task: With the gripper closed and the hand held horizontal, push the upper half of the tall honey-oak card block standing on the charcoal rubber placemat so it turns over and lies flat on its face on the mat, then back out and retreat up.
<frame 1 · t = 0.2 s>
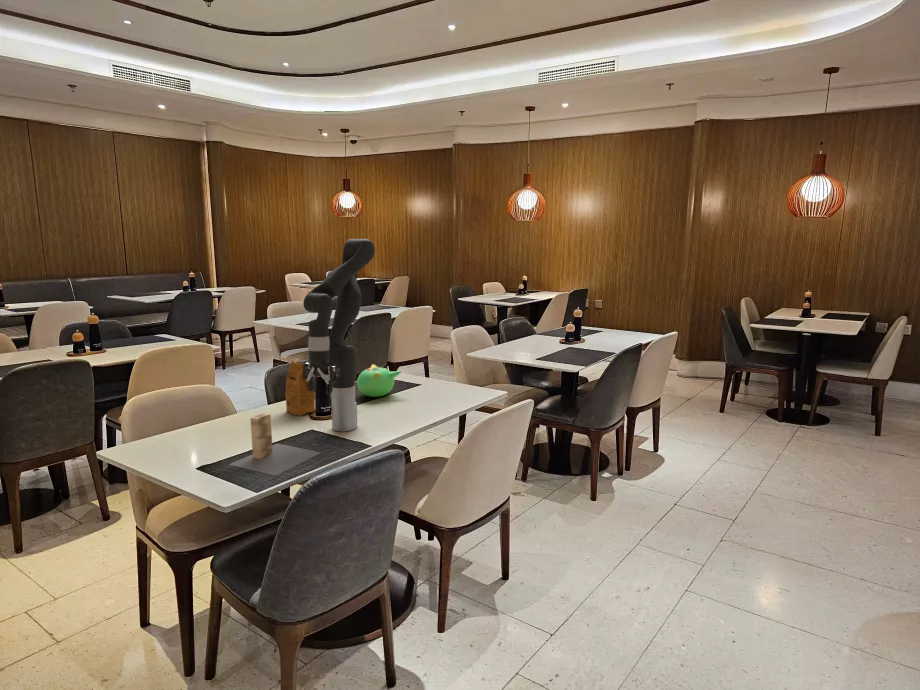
hand: (320, 392, 210), 18 cm above the table, tool pointing down, fingers open, 8 cm apart
toy bird: (377, 396, 272), on the table
coffee package: (300, 412, 247), on the table
charcoal placemat: (276, 459, 193), on the table
oak card block: (262, 455, 196), resting on charcoal placemat
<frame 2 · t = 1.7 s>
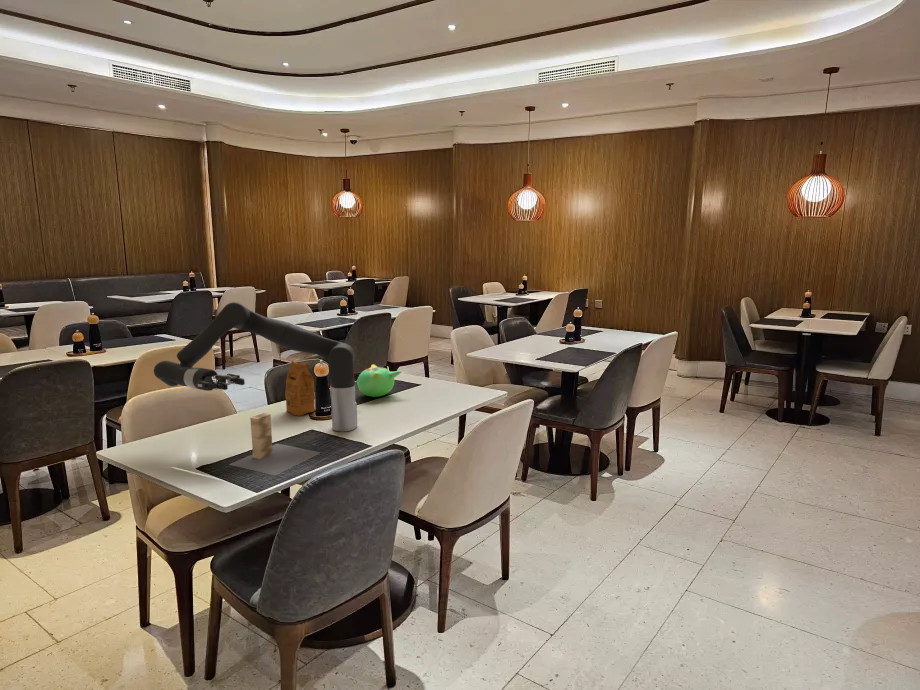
hand: (235, 384, 196), 24 cm above the table, tool horizontal, fingers open, 7 cm apart
nothing on the table moved.
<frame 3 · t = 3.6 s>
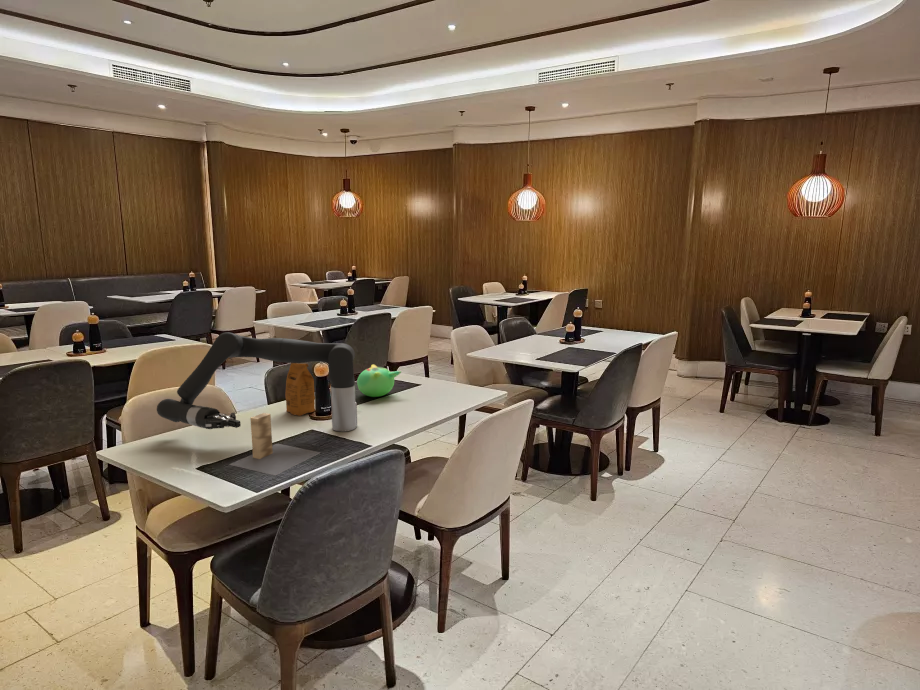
hand: (238, 424, 198), 10 cm above the table, tool horizontal, fingers closed
nothing on the table moved.
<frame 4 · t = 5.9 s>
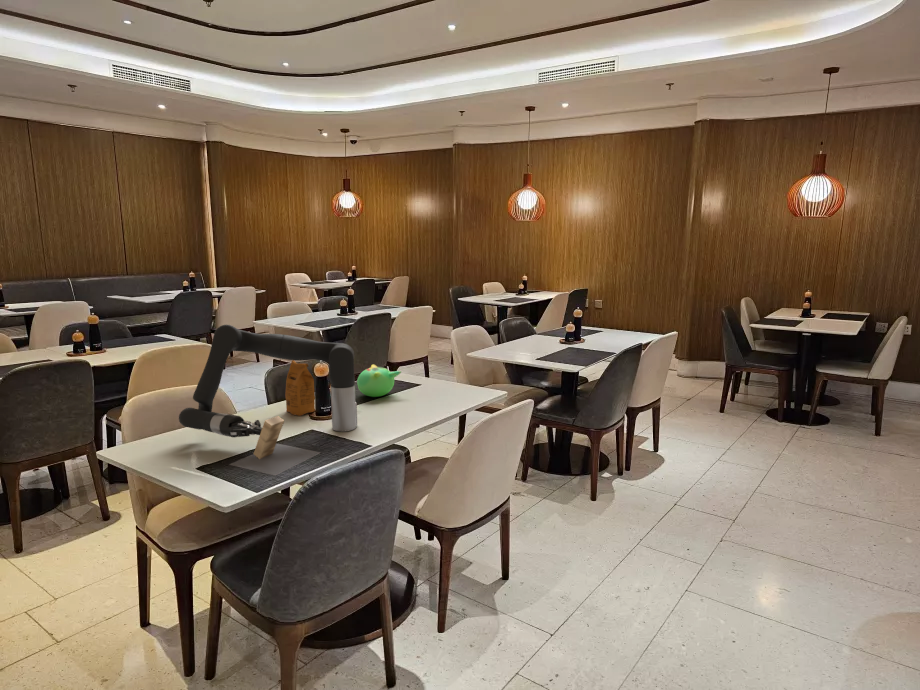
hand: (264, 432, 194), 9 cm above the table, tool horizontal, fingers closed
oak card block: (263, 453, 195), point 1 cm above the table, tilted 26°, touching charcoal placemat
everything else where it was.
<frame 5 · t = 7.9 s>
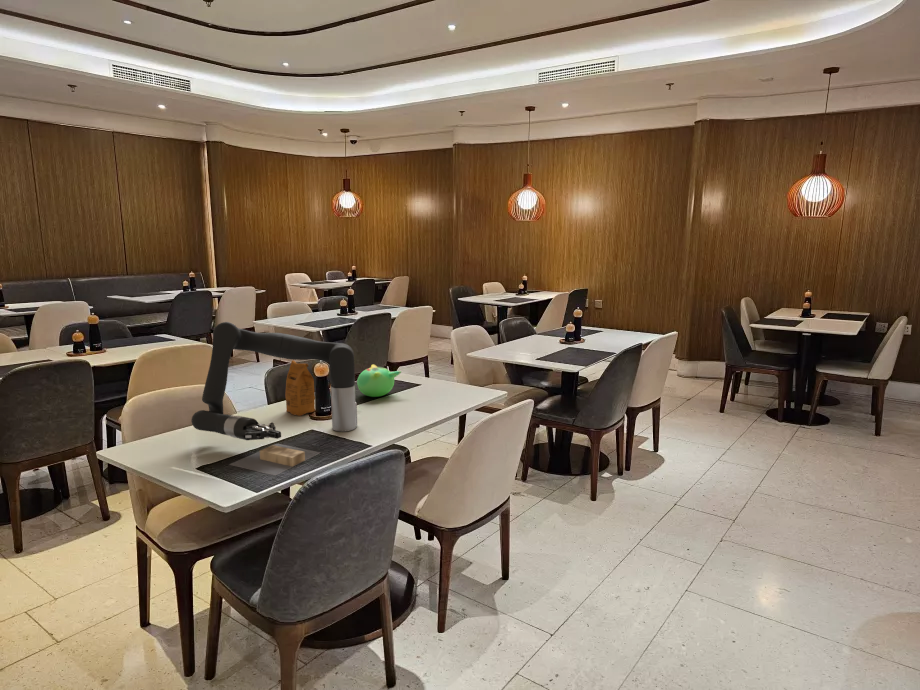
hand: (279, 435, 191), 9 cm above the table, tool horizontal, fingers closed
oak card block: (266, 452, 195), point 2 cm above the table, tilted 90°, touching charcoal placemat
everything else where it was.
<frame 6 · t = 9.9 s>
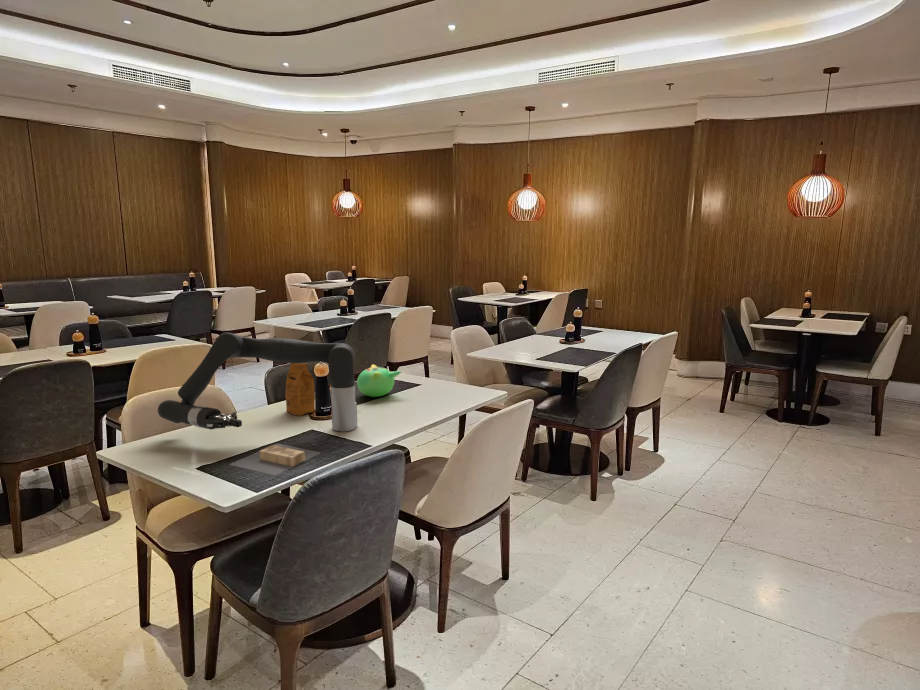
hand: (240, 423, 198), 10 cm above the table, tool horizontal, fingers closed
nothing on the table moved.
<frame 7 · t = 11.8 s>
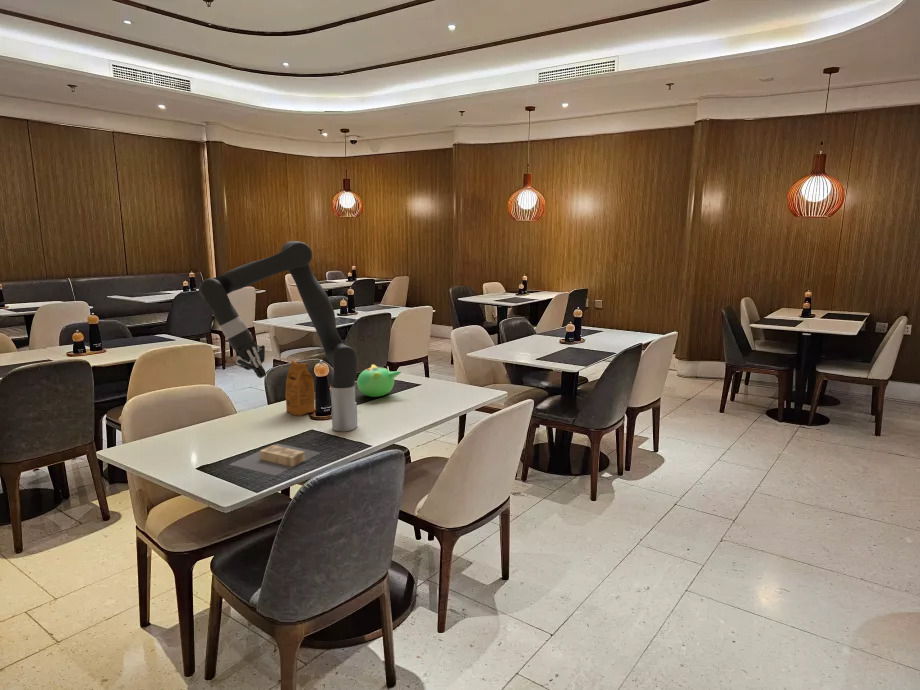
hand: (263, 376, 199), 26 cm above the table, tool tilted 25°, fingers closed
nothing on the table moved.
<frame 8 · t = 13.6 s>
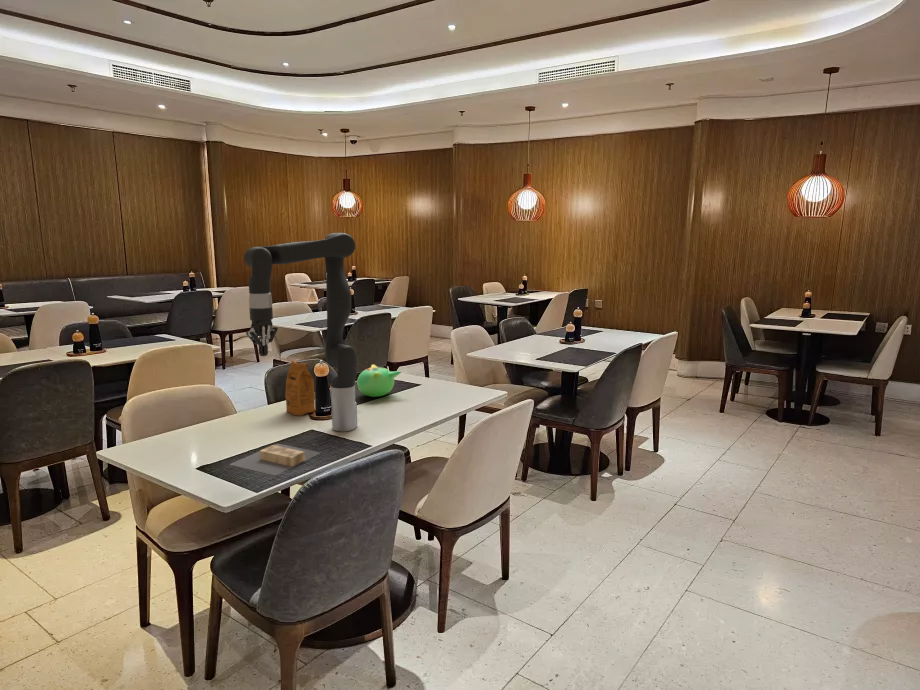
hand: (263, 355, 200), 33 cm above the table, tool pointing down, fingers closed
nothing on the table moved.
at the end: oak card block tilted 90°; oak card block inside the target area on the charcoal placemat (4.3 cm from its centre), point 2.0 cm above the charcoal placemat's base; oak card block touching charcoal placemat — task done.
